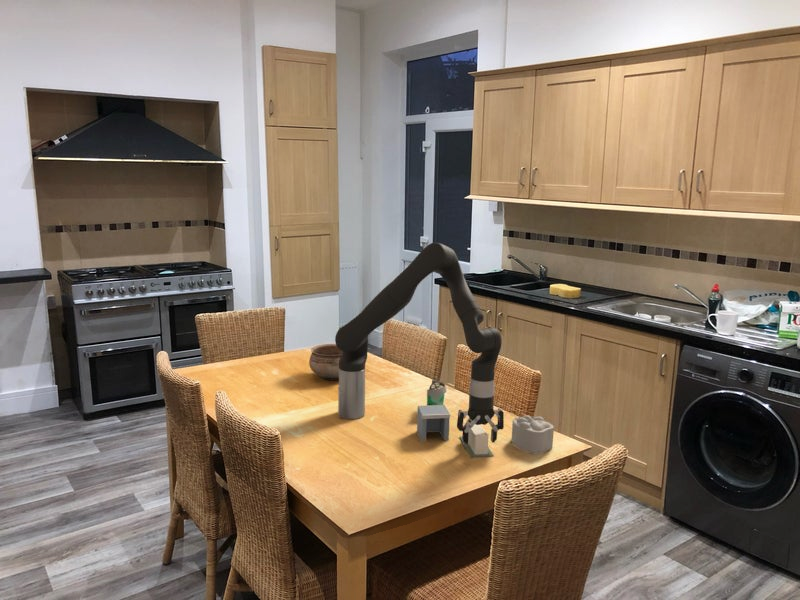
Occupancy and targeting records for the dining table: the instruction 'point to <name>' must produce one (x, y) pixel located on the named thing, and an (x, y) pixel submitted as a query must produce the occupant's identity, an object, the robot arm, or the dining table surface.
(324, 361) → the cooking pot
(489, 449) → the rubber mat
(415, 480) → the dining table surface
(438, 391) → the food container
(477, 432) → the tall cream rectangular prism
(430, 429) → the dispenser sleeve
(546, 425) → the lumpy-topped squat cylinder
